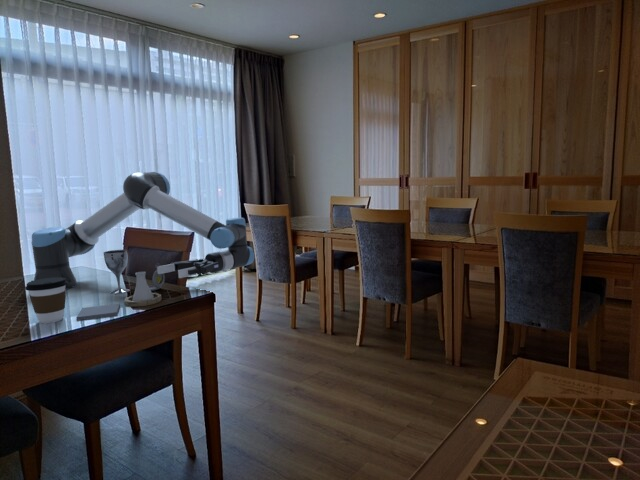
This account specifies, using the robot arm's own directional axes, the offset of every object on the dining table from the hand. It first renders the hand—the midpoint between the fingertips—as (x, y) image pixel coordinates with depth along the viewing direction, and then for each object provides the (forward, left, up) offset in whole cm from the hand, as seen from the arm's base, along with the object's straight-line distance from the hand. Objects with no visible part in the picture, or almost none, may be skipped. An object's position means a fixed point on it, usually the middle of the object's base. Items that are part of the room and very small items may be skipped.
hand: (167, 272), depth 163 cm
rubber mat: (+13, -21, -8) cm, 26 cm away
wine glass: (-16, -18, -8) cm, 25 cm away
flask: (+5, -9, -8) cm, 13 cm away
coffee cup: (+14, -34, -8) cm, 38 cm away
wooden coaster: (+5, -9, -8) cm, 13 cm away
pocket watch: (-12, -6, -8) cm, 16 cm away
